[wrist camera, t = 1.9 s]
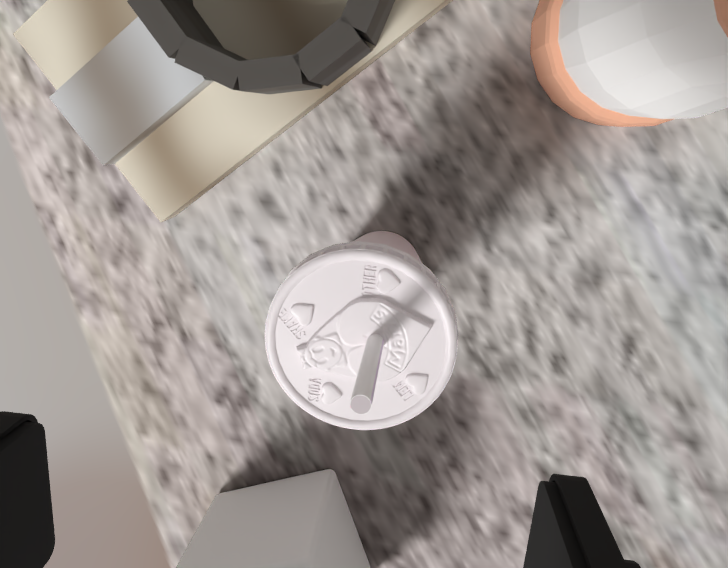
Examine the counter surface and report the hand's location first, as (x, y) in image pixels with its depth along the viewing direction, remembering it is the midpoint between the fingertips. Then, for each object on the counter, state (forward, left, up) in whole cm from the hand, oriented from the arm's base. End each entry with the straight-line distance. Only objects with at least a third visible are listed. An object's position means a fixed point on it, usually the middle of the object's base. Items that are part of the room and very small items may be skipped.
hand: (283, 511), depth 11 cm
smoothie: (0, 0, -18) cm, 18 cm away
